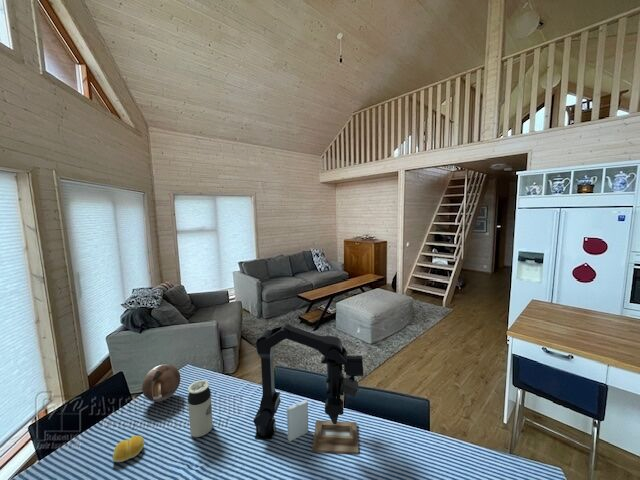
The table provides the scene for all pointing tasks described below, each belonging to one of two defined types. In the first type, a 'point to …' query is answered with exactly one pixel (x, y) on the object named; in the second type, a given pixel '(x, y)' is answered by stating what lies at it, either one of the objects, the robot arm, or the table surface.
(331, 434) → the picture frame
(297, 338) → the robot arm
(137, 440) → the bread roll
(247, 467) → the table surface
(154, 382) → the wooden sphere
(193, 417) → the travel mug
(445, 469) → the table surface
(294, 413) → the external hard drive
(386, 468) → the table surface
